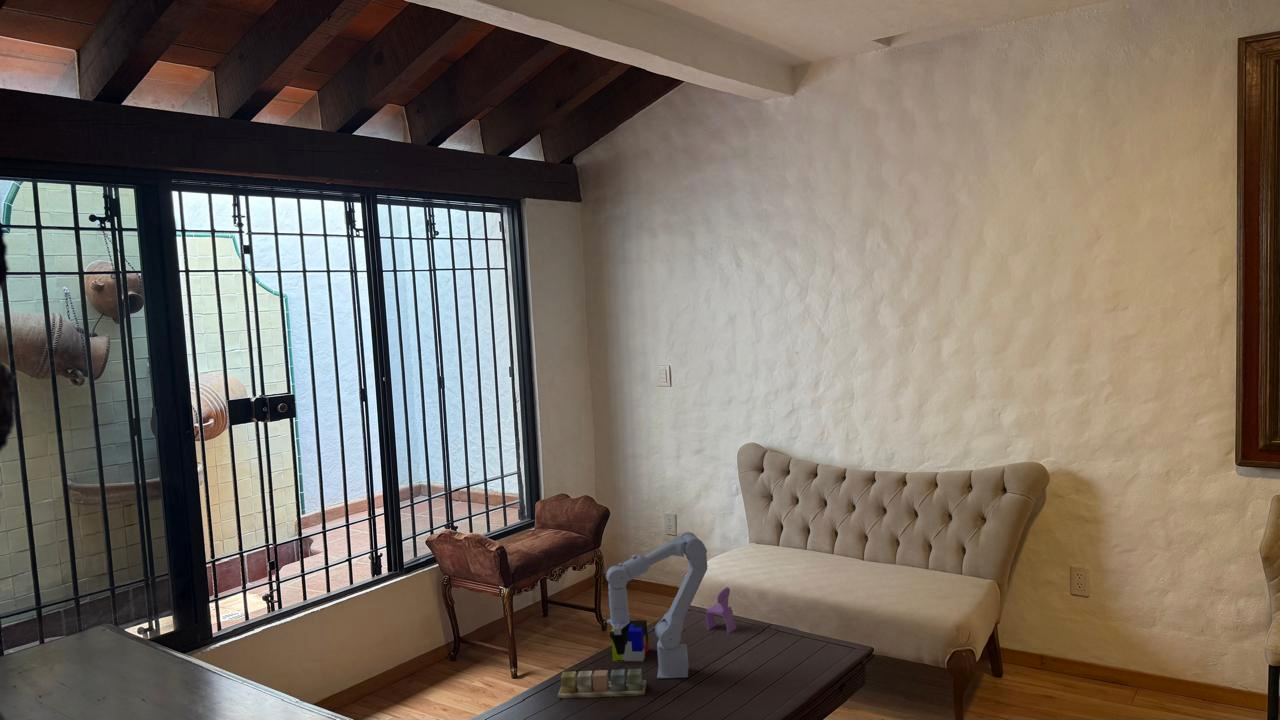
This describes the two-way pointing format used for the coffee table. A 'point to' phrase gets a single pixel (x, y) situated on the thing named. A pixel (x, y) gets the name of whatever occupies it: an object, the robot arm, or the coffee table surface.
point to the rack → (616, 685)
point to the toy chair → (721, 611)
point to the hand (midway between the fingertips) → (622, 649)
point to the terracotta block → (601, 681)
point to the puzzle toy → (634, 642)
